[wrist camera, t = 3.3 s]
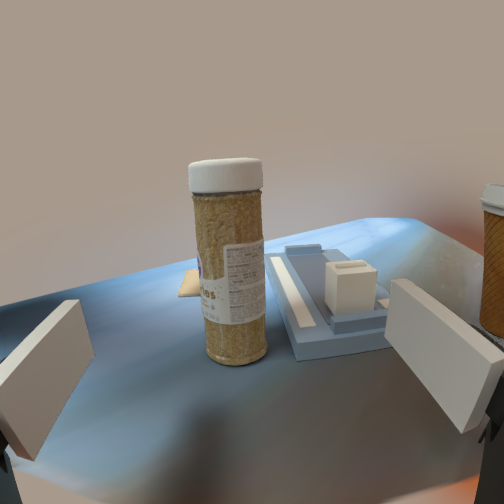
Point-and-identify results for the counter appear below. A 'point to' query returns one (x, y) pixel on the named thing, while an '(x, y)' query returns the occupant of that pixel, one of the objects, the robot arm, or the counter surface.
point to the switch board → (321, 306)
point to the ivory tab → (350, 287)
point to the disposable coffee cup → (493, 260)
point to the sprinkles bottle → (230, 257)
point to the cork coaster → (190, 284)
